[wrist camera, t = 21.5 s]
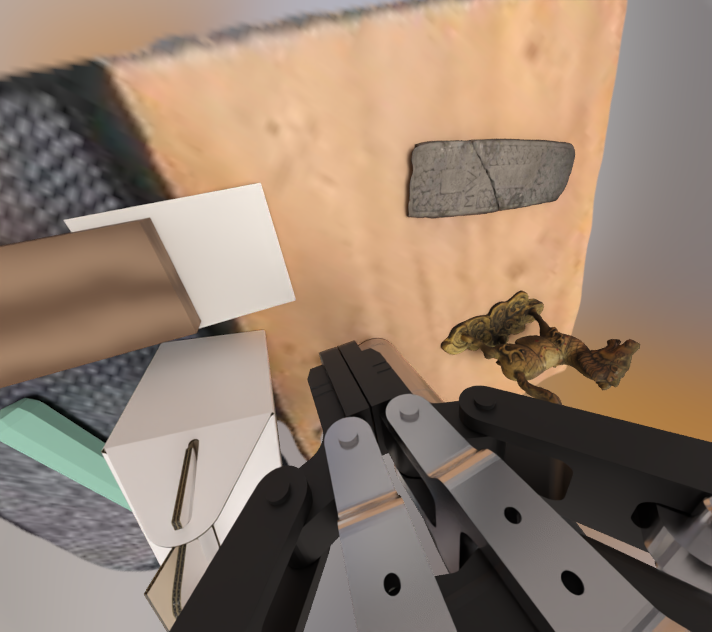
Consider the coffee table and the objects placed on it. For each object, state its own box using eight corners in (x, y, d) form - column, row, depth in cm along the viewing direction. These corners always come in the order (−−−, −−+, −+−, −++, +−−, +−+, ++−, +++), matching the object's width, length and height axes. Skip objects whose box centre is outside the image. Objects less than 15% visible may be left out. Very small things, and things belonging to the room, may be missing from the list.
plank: (201, 321, 33) (196, 333, 30) (-1, 376, 29) (-26, 395, 26) (150, 217, 27) (139, 220, 25) (-112, 267, 23) (-158, 277, 20)
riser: (291, 290, 39) (295, 300, 36) (154, 328, 35) (144, 344, 32) (259, 183, 33) (260, 182, 29) (85, 215, 29) (63, 220, 25)
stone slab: (563, 207, 48) (414, 223, 38) (545, 206, 50) (402, 221, 41) (581, 137, 43) (418, 135, 34) (561, 140, 46) (404, 139, 37)
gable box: (159, 340, 36) (-13, 641, 12) (264, 327, 40) (288, 533, 16) (196, 457, 45) (139, 756, 22) (278, 436, 50) (306, 669, 26)
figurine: (534, 334, 63) (643, 391, 45) (440, 370, 57) (523, 451, 40) (544, 282, 57) (674, 325, 39) (440, 316, 51) (539, 383, 34)
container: (-44, 443, 28) (145, 535, 40) (25, 400, 30) (182, 500, 43) (-20, 416, 32) (143, 507, 45) (38, 381, 35) (177, 476, 47)
